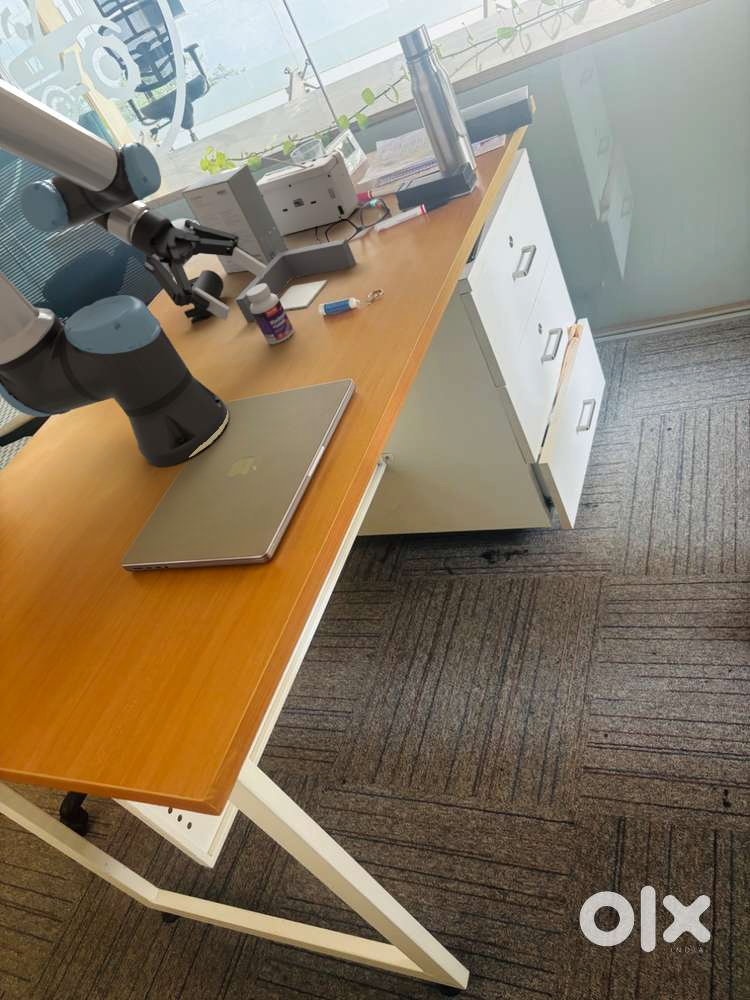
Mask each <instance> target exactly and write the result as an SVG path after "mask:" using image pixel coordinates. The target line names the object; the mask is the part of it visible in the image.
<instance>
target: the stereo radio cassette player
mask: <svg viewBox="0 0 750 1000" xmlns="http://www.w3.org/2000/svg"><path fill="white" fill-rule="evenodd" d="M244 155H245V156H247V155H250V156H252V157H257V158H260V159H264V160H268V161H271V162H276V163H280V164H284V165H288V166H284V167H282V168H279V169H276V170H272V171H270V172H266V173H265V174H264V175H263V176H262V177H261V178H260V179H258V181H257V182H256V184H257V186H258V188H259V190H260V193H261V195H262V197H263V199H264V201H265V203H266V205H267V207H268V209H269V211H270V213H271V215H272V217H273V219H274V221H275V223H276V226H277V228H278V230H279V232H280V234H281V236H284V237H285V236H286V235H290V234H293V233H298V232H301V231H305V230H310V229H313V228H316V226H317V227H321V226H323V225H327V224H331V223H335V222H339V220H340V221H342V220H341V219H347V220H348V218H349V217H350V216H351V214H353V212H354V211H355V210H356V209H357V207H358V206H357V205H358V204H359V203H360V201H359V198H358V195H357V194H358V193H357V191H356V189H355V186H354V183H353V180H352V178H351V176H350V173H349V170H348V168H347V165H346V163H345V161H344V158H343V156H342V154H341V152H340V151H338V150H337V151H333V152H328V153H326V154H323V155H320V156H317V157H313V158H310V159H307V160H303V161H301V162H298V163H293V162H289V161H284V160H281V159H280V160H279V159H276V158H271V157H267V156H262V155H256V154H251V153H248V152H245V153H244Z"/></svg>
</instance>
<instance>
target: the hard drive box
mask: <svg viewBox="0 0 750 1000" xmlns="http://www.w3.org/2000/svg"><path fill="white" fill-rule="evenodd" d="M256 183H257V182H256V180H255V178H254V176H253V173H252V172H251V170H250V168H249V166H248V164H244V165H240V166H238V167H237V166H236V167H234V168H230V169H226V170H222V171H219V172H216V173H213V174H209V175H205V176H203V177H202V176H201V178H199V179H198V180H196V181H195V182H194V183H192V184H191V185H190V186H188V187H187V188H186V189H184V190H183V191H182V192H181V195H182V196H183V197H184V200H185V201H186V203H187V205H188V206H189V209H190V210H191V212H192V214H193V215H194V217H195V219H196V221H197V224H198V225H201V226H205V227H209V228H212V229H216V230H220V231H223V232H227V233H231V234H235V235H237V236H239V241H238V246H239V247H240V248H242V249H243V250H245V251H247V252H248V253H250V254H251V255H252V256H253V258H255V259H256V260H258V261H259V262H261V263H263V264H264V265H266V266H267V265H268V264H269V263H270V262H271V261H272V260H273V258H274V257H275V256H276V255H277V254H278V253H279V252H284V251H289V250H290V249H288V247H287V245H286V242H285V240H284V237H283V235H281V234H280V232H279V230H278V228H277V226H276V223H275V221H274V219H273V217H272V215H271V213H270V211H269V209H268V207H267V205H266V203H265V201H264V199H263V197H262V195H261V193H260V190H259V188H258V186H257V184H256ZM231 241H232V240H231ZM227 249H230V248H227ZM216 257H217V259H218V260H219V262H220V264H221V265H222V268H223V269H224V271H225V273H226V274H232V273H233V272H234V273H240V272H249V271H248V270H246V269H245V268H243V267H242V266H240V265H238V264H237V263H235V262H234V261H232V260H231V259H232V256H224V255H216Z"/></svg>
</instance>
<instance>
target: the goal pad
mask: <svg viewBox="0 0 750 1000" xmlns="http://www.w3.org/2000/svg"><path fill="white" fill-rule="evenodd" d="M327 283H328V279H325V280H324V279H323V280H320V281H314V282H313V281H312V282H307V283H302V284H301V283H300V284H296V285H290V287H288V288H287V289H286V291H285V292H284V294H283V295H282V296H281V297H280V299H279V300H280V302H281V304H282V306H283V308H284V310H285V311H290V309H292V310H298V308H299V309H304V308H308V307H309V305H311V303H313V300H314V299H316V297H317V296H318V295H319V293H320V292H321V291H322V290H323V288H324V287H325V286H326V285H327Z"/></svg>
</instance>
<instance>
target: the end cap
mask: <svg viewBox="0 0 750 1000" xmlns="http://www.w3.org/2000/svg"><path fill="white" fill-rule="evenodd" d="M188 280H189V283H190V285H191V287H192V290H193V292H194V289H195V288H196V287H197V288H199V289H201V290H202V291H204V292H206V293H207V294H209V295H210V296H212V297H214V298H215V299H217V300H218V301H220V298H221V296H222V293H223V290H224V287H225V286H224V281H223V278H222V276H220V275H219V274H218V273H217V272H215V271H213V270H210V269H204V270H202V271H201V272H200V274H199V276H197V277H193V278H191V279H188ZM190 304H192V303H191V302H190ZM192 305H193V308H190V309H187V310H185V311H183V313H184V315H185V316H186V318H187V319H191V320H190V323H191V324H196V323H198V322H203V321H204V320H208V319H209V318H210V317H211V316H212V314H213V313H212V312H210V311H208V310H206V311H205V310H202V309H200V308H199V307H198V306H196V305H194V304H192ZM184 306H186V305H185V304H184V303H182V304H181V305H180V306H179V307H180V308H181V307H184Z"/></svg>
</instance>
